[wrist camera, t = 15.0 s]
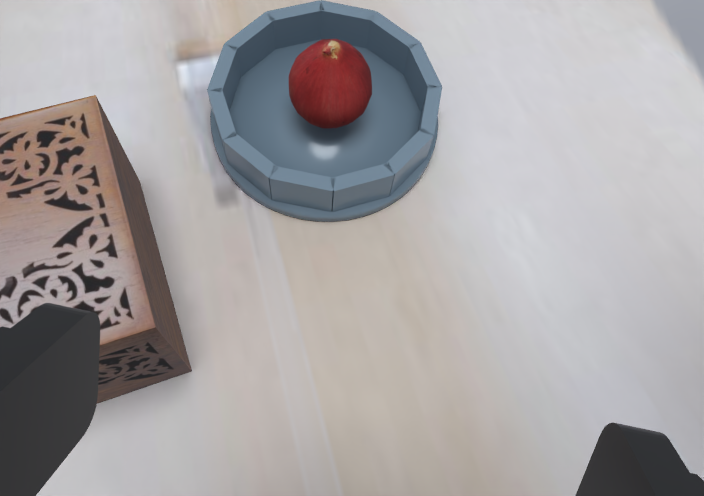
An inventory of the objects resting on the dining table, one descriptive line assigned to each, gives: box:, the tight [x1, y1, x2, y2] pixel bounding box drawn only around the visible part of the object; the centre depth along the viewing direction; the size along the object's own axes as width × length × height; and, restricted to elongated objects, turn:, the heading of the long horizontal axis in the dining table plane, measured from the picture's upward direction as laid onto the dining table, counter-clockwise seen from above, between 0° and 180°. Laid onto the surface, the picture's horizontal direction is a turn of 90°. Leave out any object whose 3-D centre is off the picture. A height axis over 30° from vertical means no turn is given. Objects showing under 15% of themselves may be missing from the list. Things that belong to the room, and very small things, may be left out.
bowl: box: [207, 0, 442, 222], centre depth 44 cm, size 17×17×4 cm
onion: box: [289, 39, 372, 128], centre depth 42 cm, size 6×6×8 cm
